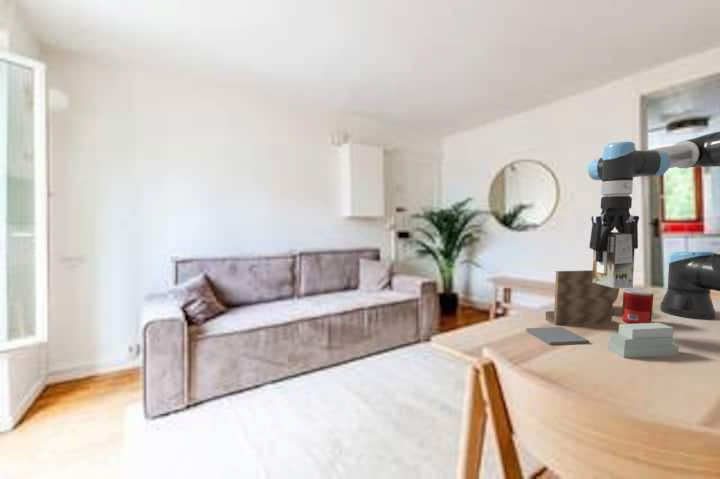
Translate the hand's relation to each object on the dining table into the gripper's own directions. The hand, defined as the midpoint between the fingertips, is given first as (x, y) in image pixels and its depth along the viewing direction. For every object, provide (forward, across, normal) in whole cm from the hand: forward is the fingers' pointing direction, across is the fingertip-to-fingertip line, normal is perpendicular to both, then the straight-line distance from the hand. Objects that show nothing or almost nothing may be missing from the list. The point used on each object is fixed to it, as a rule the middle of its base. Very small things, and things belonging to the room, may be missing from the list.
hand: (612, 272), depth 108 cm
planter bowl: (+20, +16, +26) cm, 36 cm away
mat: (+19, -17, 0) cm, 26 cm away
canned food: (+20, +19, +10) cm, 29 cm away
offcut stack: (+20, -2, -14) cm, 24 cm away
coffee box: (+4, 0, 0) cm, 4 cm away
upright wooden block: (+19, 0, +13) cm, 23 cm away
